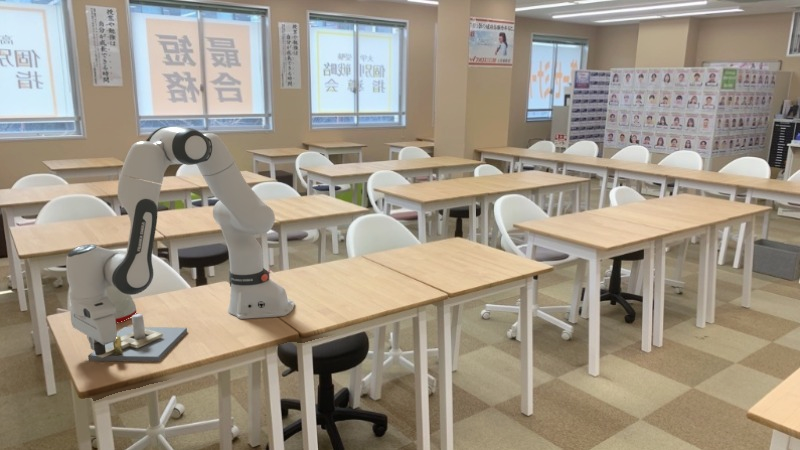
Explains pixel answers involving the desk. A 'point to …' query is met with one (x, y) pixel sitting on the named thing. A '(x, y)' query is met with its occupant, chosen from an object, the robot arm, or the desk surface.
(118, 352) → the gold rounded cylinder
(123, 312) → the kitchen timer
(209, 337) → the desk surface
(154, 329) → the board
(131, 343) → the knobbed lever handle
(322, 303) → the desk surface
